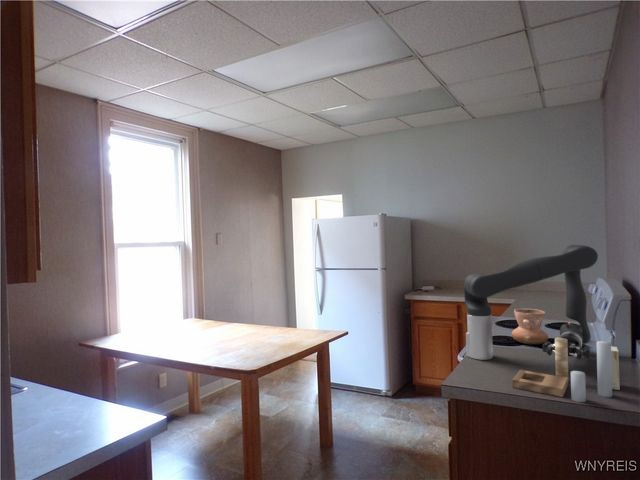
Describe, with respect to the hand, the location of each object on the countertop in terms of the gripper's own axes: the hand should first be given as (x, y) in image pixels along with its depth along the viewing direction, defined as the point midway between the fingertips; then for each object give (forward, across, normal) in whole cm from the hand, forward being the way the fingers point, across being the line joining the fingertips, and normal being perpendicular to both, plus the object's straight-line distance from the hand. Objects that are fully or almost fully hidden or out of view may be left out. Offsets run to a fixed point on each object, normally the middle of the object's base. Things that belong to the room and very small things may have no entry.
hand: (563, 354), depth 138 cm
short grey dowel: (+19, +6, +8) cm, 21 cm away
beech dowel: (+5, 0, +8) cm, 9 cm away
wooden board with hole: (+14, -5, +8) cm, 16 cm away
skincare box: (+2, +13, +8) cm, 15 cm away
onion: (-51, -4, +8) cm, 52 cm away
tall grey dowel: (+11, +12, +8) cm, 18 cm away
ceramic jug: (-39, -18, +8) cm, 44 cm away
